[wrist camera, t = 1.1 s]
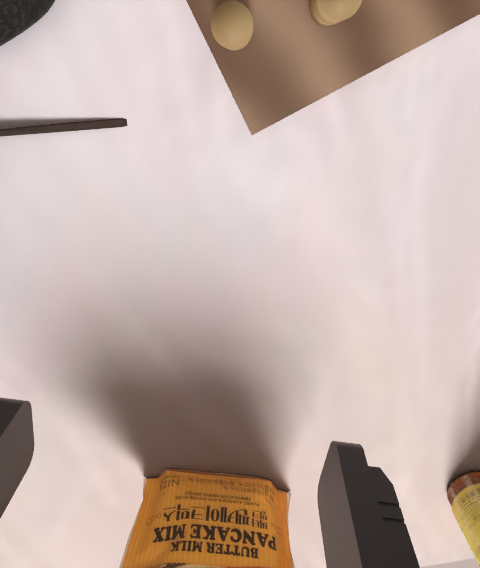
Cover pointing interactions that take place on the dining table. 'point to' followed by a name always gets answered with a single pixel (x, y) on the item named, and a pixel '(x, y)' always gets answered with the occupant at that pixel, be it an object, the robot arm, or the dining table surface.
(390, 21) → the board
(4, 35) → the sushi plate
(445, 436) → the dining table surface
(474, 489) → the sauce bottle
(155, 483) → the pancake mix bag
